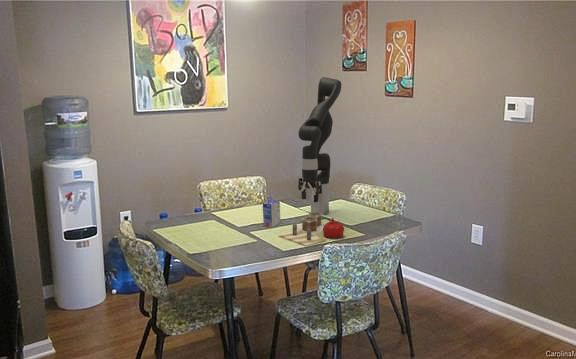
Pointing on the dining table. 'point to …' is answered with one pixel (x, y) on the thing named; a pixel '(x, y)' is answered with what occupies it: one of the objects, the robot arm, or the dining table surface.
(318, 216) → the sleeve
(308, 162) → the robot arm
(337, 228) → the pomegranate
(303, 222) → the sleeve
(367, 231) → the dining table surface
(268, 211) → the ink cartridge box
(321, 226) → the mat
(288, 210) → the dining table surface
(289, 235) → the pin board
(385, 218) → the dining table surface
